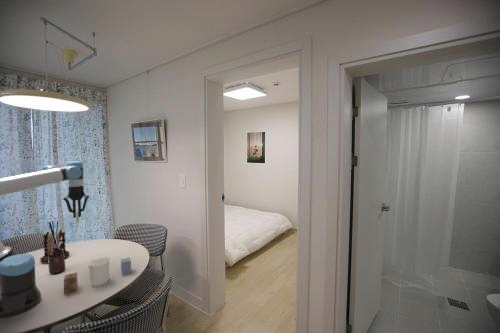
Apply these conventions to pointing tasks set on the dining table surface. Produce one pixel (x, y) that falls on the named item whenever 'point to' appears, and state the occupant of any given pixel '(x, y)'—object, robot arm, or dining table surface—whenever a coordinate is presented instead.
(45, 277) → the dining table surface
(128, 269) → the slate-blue block
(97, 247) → the dining table surface
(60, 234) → the brown dark-edged pieces
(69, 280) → the walnut block
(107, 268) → the candle holder
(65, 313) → the dining table surface
